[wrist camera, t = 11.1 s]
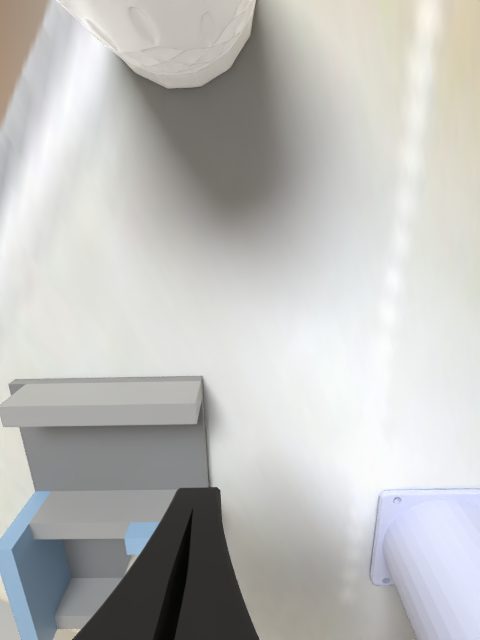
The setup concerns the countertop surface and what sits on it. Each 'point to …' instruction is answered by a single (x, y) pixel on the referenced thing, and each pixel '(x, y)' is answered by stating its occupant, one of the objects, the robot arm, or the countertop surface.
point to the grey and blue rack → (94, 487)
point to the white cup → (169, 35)
